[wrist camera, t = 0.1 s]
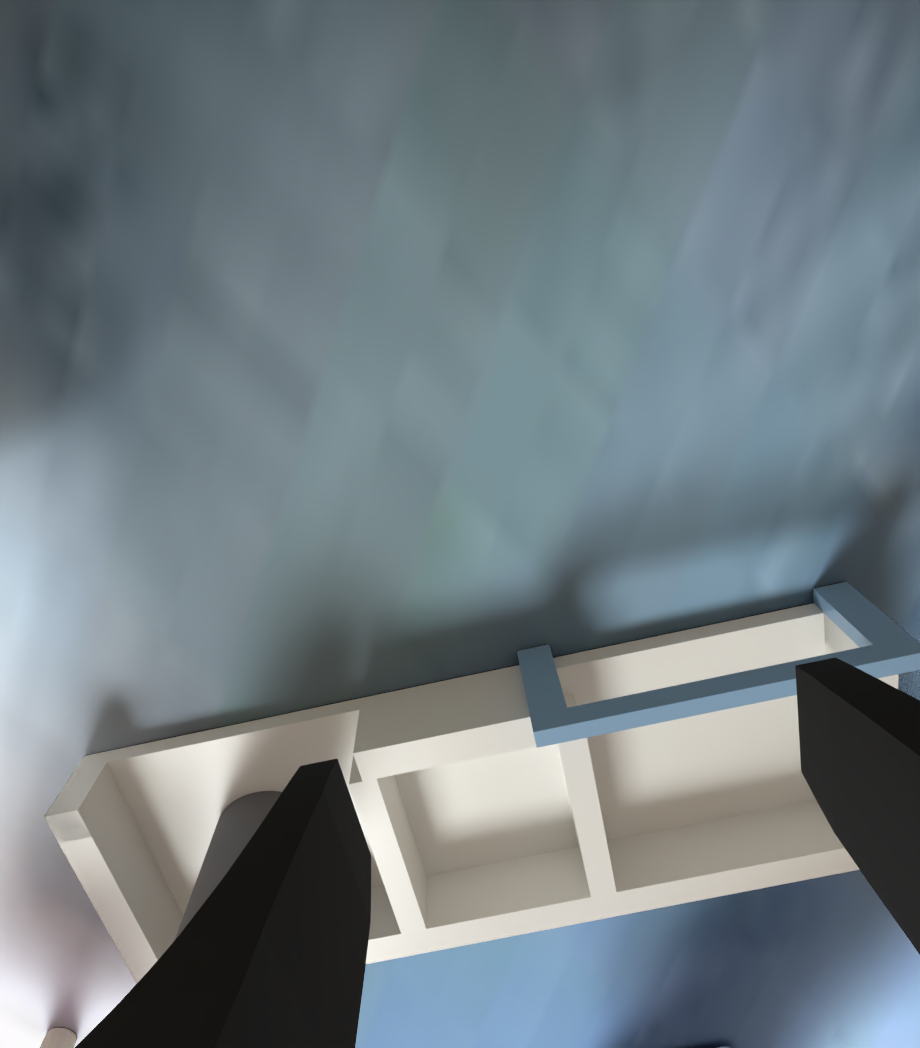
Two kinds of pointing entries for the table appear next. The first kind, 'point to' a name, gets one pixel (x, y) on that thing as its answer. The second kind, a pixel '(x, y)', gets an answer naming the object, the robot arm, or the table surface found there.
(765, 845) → the compartment tray
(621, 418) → the table surface
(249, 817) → the plug
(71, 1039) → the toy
